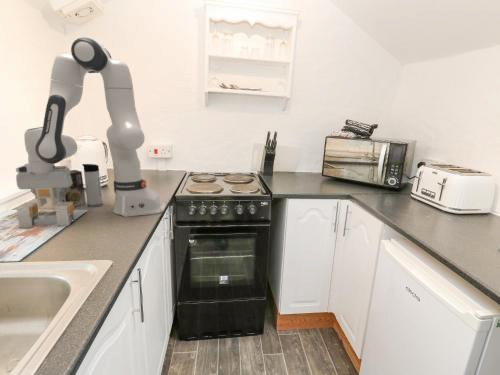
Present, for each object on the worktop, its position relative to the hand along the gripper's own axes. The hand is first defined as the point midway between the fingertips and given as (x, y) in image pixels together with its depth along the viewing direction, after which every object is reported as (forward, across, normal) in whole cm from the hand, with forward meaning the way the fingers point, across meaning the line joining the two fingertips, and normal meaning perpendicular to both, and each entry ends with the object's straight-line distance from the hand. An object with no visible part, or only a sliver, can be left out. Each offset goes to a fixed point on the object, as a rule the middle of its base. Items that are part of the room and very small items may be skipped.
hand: (48, 198), depth 128 cm
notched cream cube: (+3, 0, 0) cm, 3 cm away
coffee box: (+7, -5, -10) cm, 14 cm away
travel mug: (+7, -15, -10) cm, 19 cm away
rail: (+7, -6, +14) cm, 17 cm away
